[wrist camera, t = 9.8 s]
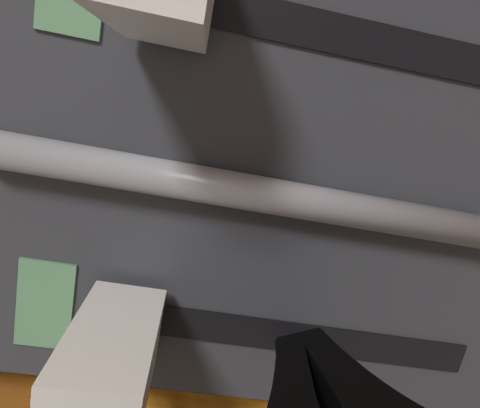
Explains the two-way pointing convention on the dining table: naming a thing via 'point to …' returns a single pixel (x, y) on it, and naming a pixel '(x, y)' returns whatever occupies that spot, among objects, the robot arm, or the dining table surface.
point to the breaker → (157, 20)
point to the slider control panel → (250, 187)
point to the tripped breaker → (105, 351)
